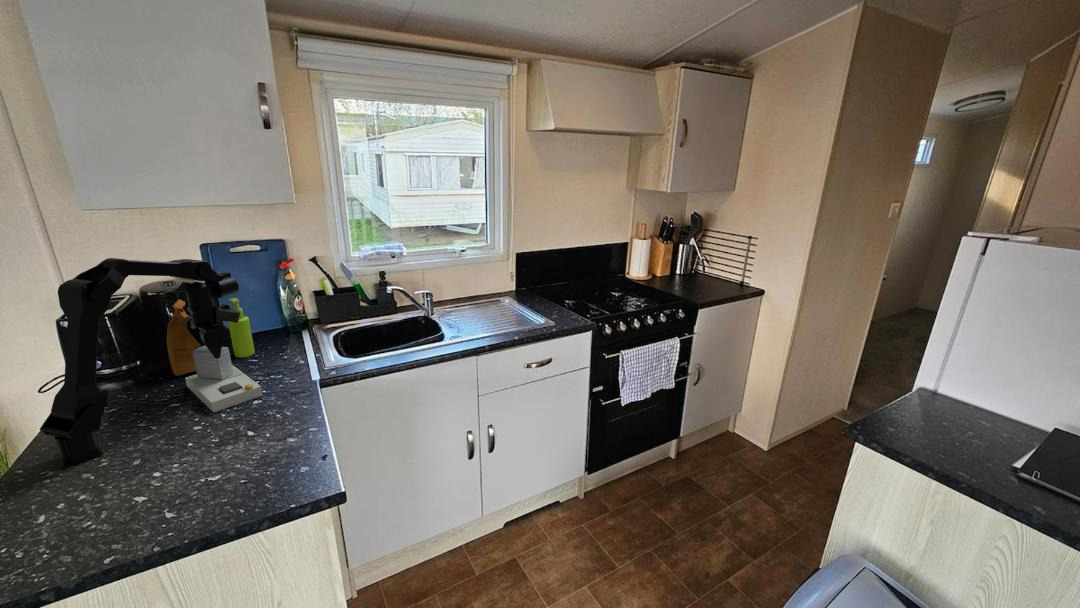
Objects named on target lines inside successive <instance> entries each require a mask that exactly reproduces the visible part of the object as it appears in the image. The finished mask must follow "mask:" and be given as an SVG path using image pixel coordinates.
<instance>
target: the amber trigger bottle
mask: <svg viewBox="0 0 1080 608" xmlns="http://www.w3.org/2000/svg"><path fill="white" fill-rule="evenodd" d="M185 305H186V302H185V300H184V301H183V300H182V299H178V300H177V301H176V302H175V303H174V304H173V305H172V308H173V309H174V313H173V316H172V317H171V319H170V320H169V322H168V325H167V330H166V331H167V333H166V346H167V354H168V359H169V364H170V367H171V371H172V373H173V375H174V376H176V377H177V376H178V377H179V376H182V375H186V374H188V373H189V374H190V373H192V372H193V373H194V372H197V371H196V366H195V362H194V357H193V351H194V350H196V349H198V348H200V347H201V345H200V344H199V343H198V342H197V341H196V340H195V338H194V337H193V336H192V335H191V334H190V332H189V331H188V330H187V329H186V327H185V326H184V323H183V320H184V319H185V317H187V316H189V315H188V314H187V313H186V311H185V309H184V306H185Z"/></svg>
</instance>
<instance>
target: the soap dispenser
mask: <svg viewBox="0 0 1080 608" xmlns="http://www.w3.org/2000/svg"><path fill="white" fill-rule="evenodd" d="M227 301H229V302H231V303H232V308H231V309H234V310H237V311H239V312H240V317H239V321H238V323H234V322H229V321H227V323H228V328H229V329H230V333H231V335H230V338H231V343H232V348H233V352H234V353H233V354H234V357H235V358H247V357H251V356H252V355H254V354H255V353H256V352H255V346H254V345H255V344H254V339H253V335H252V329H251V324H250V323H251V322H250V318H249V316H246V315H244V310H243V308H242V307H240V304H239V303H240V300H239V299H238V298H237V297H233V298H228V299H227Z"/></svg>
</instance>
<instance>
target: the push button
mask: <svg viewBox="0 0 1080 608" xmlns="http://www.w3.org/2000/svg"><path fill="white" fill-rule="evenodd" d="M219 389H220V392H221V393H222V394H223V395H224V394H227V393H230V392H233V391H236V390H239V389H241V386H240V385H239V384H237V383H236V382H233V383H230V384H227V385H224V386H220V387H219Z"/></svg>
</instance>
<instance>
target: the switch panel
mask: <svg viewBox="0 0 1080 608" xmlns="http://www.w3.org/2000/svg"><path fill="white" fill-rule="evenodd" d="M232 368H233V373H232V374H231V375H229V376H228V377H226V378H224V379H213V378H198V375H197V373H196V374H193V375H190V376H187V377H185V383H186V387H187V388H188V389H189V390H190V391H191V392H192V393H193V394H194V395H195V396H196V397H197V398H198V399H200V401H201V402H202V403H203V404H204V405H205V406H206V407H207V408H208V409H209V410H210V411H212V412H213V413H216V412H220V411H222V410H224V409H228V408H231V407H233V406H237V405H239V404H243V403H245V402H249V401H252V400H253V399H257V398H259V397H262V396H263V392H262V386H261V385H260V384H258V383H257V382H256V381H254V380H253V379H252V378H251V377H249V376H248V375H246V374H245V373H244V372H243V371H241V370H240V369H238V368H237V367H236V366H235V365H233V364H232ZM233 382H236V383H237V384H239V385H240V386H241V389H239V390H236V391H233V392H230V393H227V394H224V395H223V394H222V393H221V392H220V389H219V387H220V386H224V385H227V384H230V383H233Z"/></svg>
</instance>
